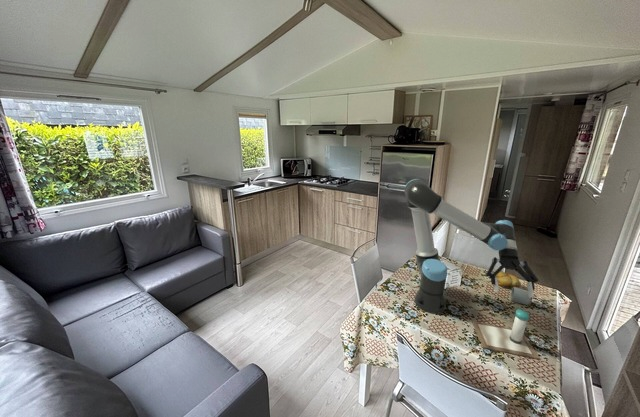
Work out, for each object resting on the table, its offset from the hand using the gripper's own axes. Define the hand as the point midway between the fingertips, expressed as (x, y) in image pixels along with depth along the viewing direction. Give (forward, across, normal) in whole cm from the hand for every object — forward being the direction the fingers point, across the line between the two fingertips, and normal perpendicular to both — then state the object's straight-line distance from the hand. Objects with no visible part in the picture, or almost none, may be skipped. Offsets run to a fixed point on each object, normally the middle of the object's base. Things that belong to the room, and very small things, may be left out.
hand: (513, 294), depth 115 cm
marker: (+19, 0, -4) cm, 19 cm away
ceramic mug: (-5, -14, -28) cm, 32 cm away
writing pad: (+19, +5, -4) cm, 20 cm away
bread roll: (-15, -14, -39) cm, 44 cm away
